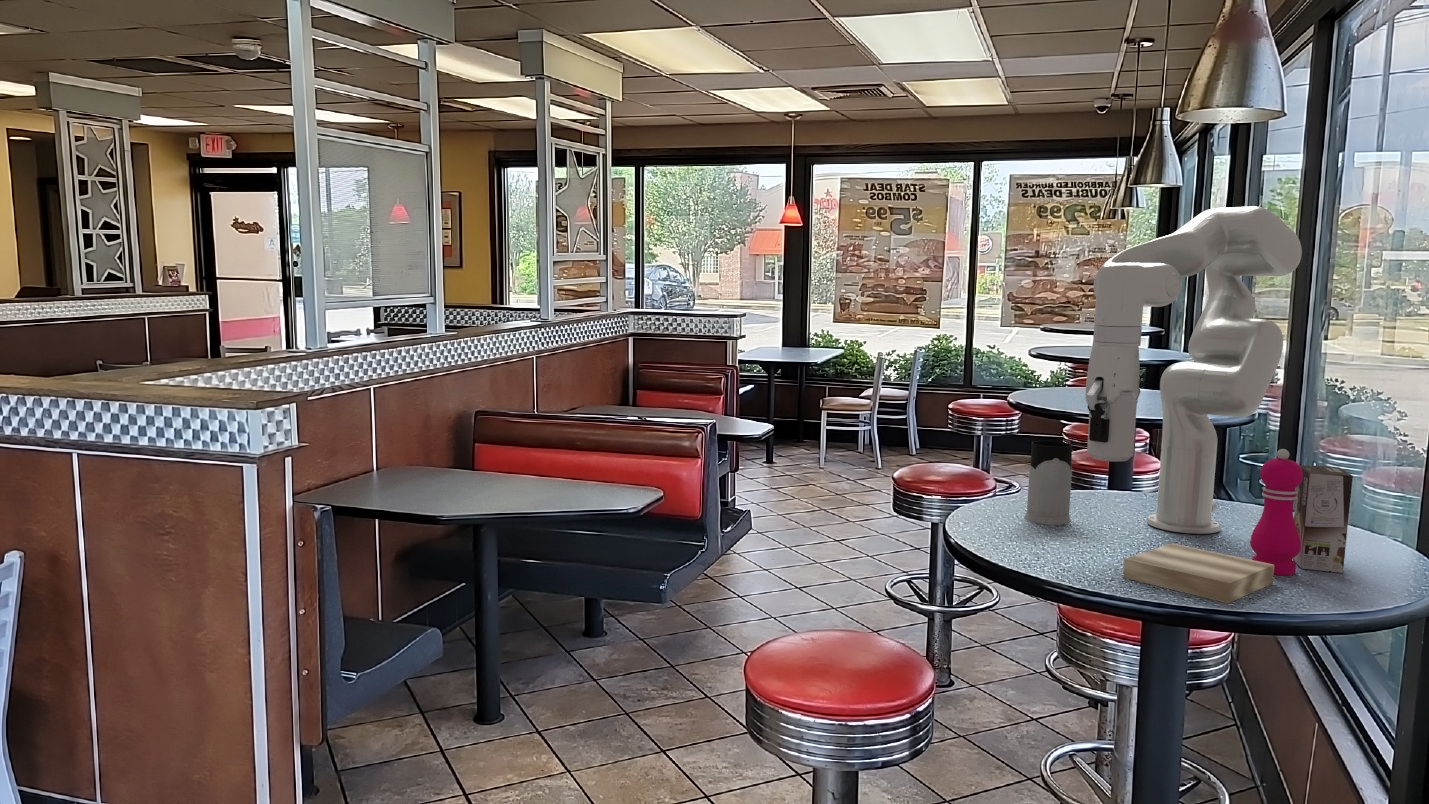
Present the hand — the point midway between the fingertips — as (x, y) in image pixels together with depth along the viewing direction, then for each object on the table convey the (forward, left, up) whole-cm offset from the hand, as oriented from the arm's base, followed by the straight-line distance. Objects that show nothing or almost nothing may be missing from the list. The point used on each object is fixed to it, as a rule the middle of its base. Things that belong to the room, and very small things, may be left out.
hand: (1111, 438), depth 173 cm
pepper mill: (-10, +24, -20) cm, 32 cm away
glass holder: (-14, -20, -20) cm, 31 cm away
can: (0, 0, -4) cm, 4 cm away
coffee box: (-20, +27, -20) cm, 39 cm away
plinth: (+6, +19, -19) cm, 28 cm away
